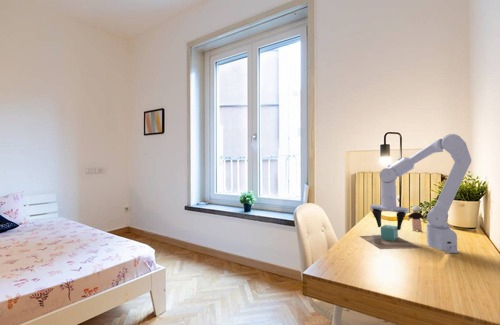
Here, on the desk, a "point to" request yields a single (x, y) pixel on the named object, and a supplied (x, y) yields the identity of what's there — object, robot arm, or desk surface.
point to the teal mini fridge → (389, 232)
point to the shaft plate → (388, 243)
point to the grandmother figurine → (416, 219)
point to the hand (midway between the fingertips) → (389, 228)
